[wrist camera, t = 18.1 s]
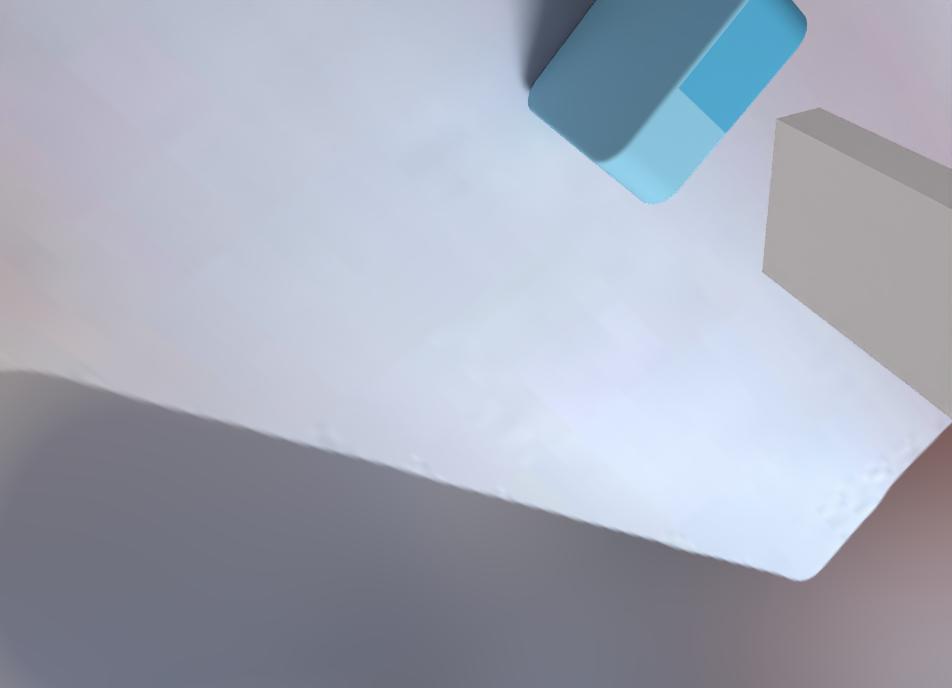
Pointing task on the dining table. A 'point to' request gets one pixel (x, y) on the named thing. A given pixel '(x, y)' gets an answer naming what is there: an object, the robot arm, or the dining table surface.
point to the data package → (662, 82)
